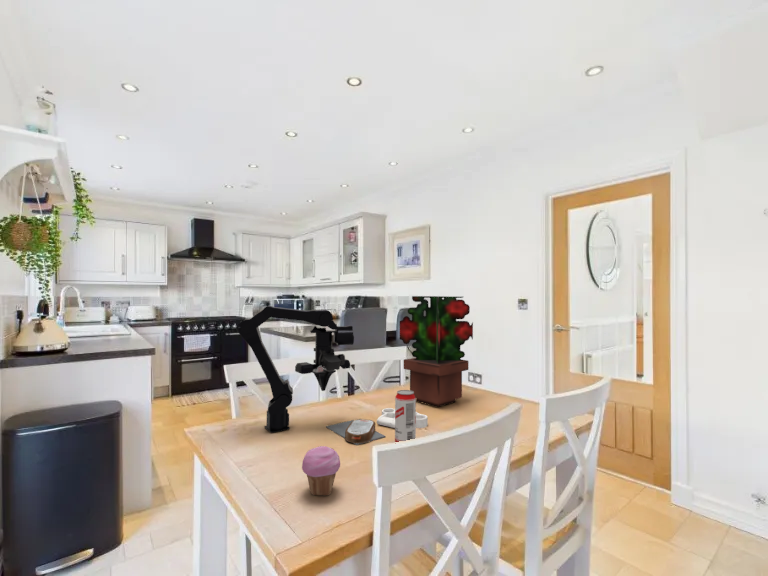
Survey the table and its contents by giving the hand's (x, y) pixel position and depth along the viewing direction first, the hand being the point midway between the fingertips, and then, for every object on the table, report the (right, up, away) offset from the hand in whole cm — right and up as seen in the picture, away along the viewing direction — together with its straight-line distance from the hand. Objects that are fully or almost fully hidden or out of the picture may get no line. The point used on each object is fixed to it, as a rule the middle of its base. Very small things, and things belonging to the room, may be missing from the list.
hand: (323, 390), depth 130 cm
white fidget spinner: (+27, -13, +3) cm, 30 cm away
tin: (+9, -10, -9) cm, 16 cm away
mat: (+12, -12, -6) cm, 18 cm away
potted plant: (+43, -13, +30) cm, 54 cm away
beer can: (+28, -12, -17) cm, 34 cm away
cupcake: (+7, -11, -44) cm, 46 cm away
